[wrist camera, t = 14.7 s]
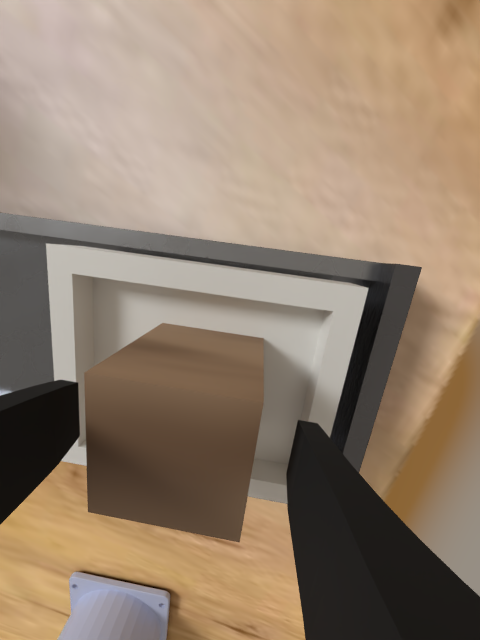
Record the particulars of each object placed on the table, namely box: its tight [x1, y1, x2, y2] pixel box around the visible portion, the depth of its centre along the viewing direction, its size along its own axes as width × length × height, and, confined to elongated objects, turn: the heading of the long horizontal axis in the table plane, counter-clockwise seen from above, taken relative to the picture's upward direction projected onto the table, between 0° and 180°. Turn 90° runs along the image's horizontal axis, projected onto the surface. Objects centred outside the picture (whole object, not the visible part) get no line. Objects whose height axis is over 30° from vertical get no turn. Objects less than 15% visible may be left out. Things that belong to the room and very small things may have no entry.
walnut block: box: [84, 323, 264, 542], centre depth 9 cm, size 4×4×5 cm
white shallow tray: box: [46, 243, 369, 504], centre depth 12 cm, size 10×12×4 cm
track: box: [0, 213, 422, 473], centre depth 13 cm, size 12×23×3 cm, turn 83°
